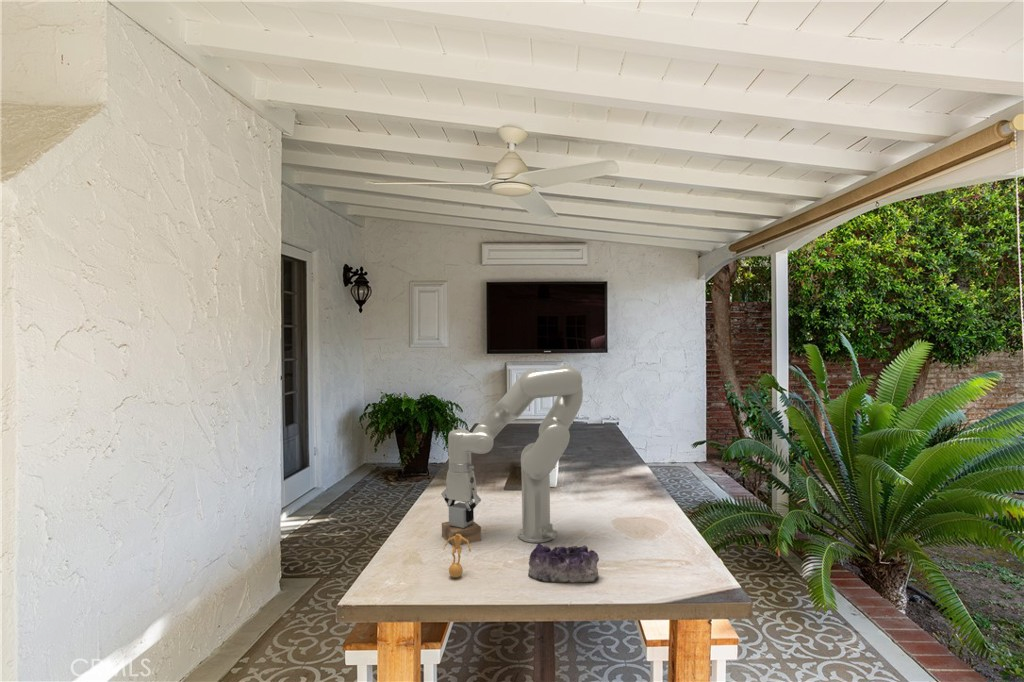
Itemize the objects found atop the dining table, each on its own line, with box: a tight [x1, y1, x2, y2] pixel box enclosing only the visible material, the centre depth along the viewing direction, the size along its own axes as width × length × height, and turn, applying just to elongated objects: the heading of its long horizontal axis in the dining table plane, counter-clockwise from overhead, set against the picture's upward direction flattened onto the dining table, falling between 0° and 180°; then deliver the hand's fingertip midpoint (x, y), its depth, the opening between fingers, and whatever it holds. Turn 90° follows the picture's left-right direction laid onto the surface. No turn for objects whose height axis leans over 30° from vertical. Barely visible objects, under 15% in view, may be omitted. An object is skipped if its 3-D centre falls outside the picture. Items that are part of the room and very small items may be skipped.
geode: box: [527, 543, 600, 584], centre depth 162 cm, size 20×12×10 cm, turn 91°
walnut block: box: [441, 521, 482, 547], centre depth 191 cm, size 10×10×5 cm
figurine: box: [443, 534, 472, 579], centre depth 164 cm, size 8×6×12 cm
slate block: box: [448, 501, 475, 528], centre depth 190 cm, size 6×6×6 cm
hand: (461, 518), depth 190 cm, fingers open, 6 cm apart
